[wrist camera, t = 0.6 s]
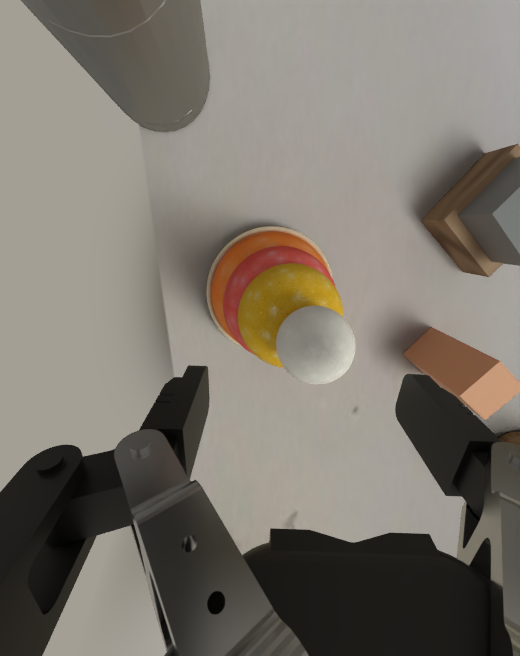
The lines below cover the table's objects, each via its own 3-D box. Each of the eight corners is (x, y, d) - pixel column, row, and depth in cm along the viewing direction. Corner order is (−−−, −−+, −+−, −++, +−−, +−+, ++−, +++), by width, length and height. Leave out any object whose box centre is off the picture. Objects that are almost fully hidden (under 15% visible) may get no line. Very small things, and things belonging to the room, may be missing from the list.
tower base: (419, 220, 32) (443, 219, 28) (482, 154, 30) (517, 143, 27) (461, 271, 35) (488, 276, 31) (521, 213, 33) (558, 211, 29)
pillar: (402, 354, 38) (459, 396, 28) (431, 327, 37) (499, 361, 27) (424, 374, 39) (485, 420, 30) (452, 348, 38) (524, 388, 29)
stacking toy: (227, 358, 35) (224, 499, 17) (190, 245, 30) (130, 273, 12) (335, 329, 35) (447, 437, 17) (317, 211, 30) (446, 188, 12)
